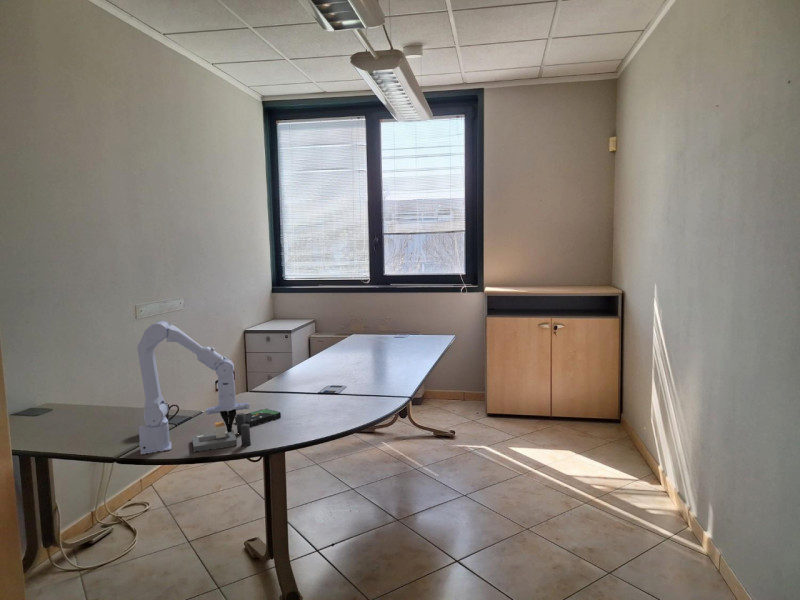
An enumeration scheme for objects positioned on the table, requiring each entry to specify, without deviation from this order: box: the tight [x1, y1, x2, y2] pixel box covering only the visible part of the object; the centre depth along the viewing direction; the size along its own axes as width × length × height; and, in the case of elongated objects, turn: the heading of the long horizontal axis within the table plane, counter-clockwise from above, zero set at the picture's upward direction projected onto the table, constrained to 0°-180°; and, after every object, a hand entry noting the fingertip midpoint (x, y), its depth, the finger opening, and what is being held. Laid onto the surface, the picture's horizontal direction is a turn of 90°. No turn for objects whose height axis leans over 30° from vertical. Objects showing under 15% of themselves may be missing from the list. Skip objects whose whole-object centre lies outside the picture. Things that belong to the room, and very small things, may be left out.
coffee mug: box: [144, 401, 180, 423], centre depth 205 cm, size 12×9×10 cm
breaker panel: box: [191, 429, 238, 452], centre depth 189 cm, size 14×12×2 cm
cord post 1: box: [235, 412, 246, 435], centre depth 199 cm, size 3×3×7 cm
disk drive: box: [234, 408, 282, 428], centre depth 214 cm, size 10×3×15 cm
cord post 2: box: [240, 424, 252, 447], centre depth 186 cm, size 3×3×7 cm
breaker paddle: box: [214, 421, 226, 438], centre depth 189 cm, size 3×4×4 cm
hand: (229, 431), depth 191 cm, fingers closed
